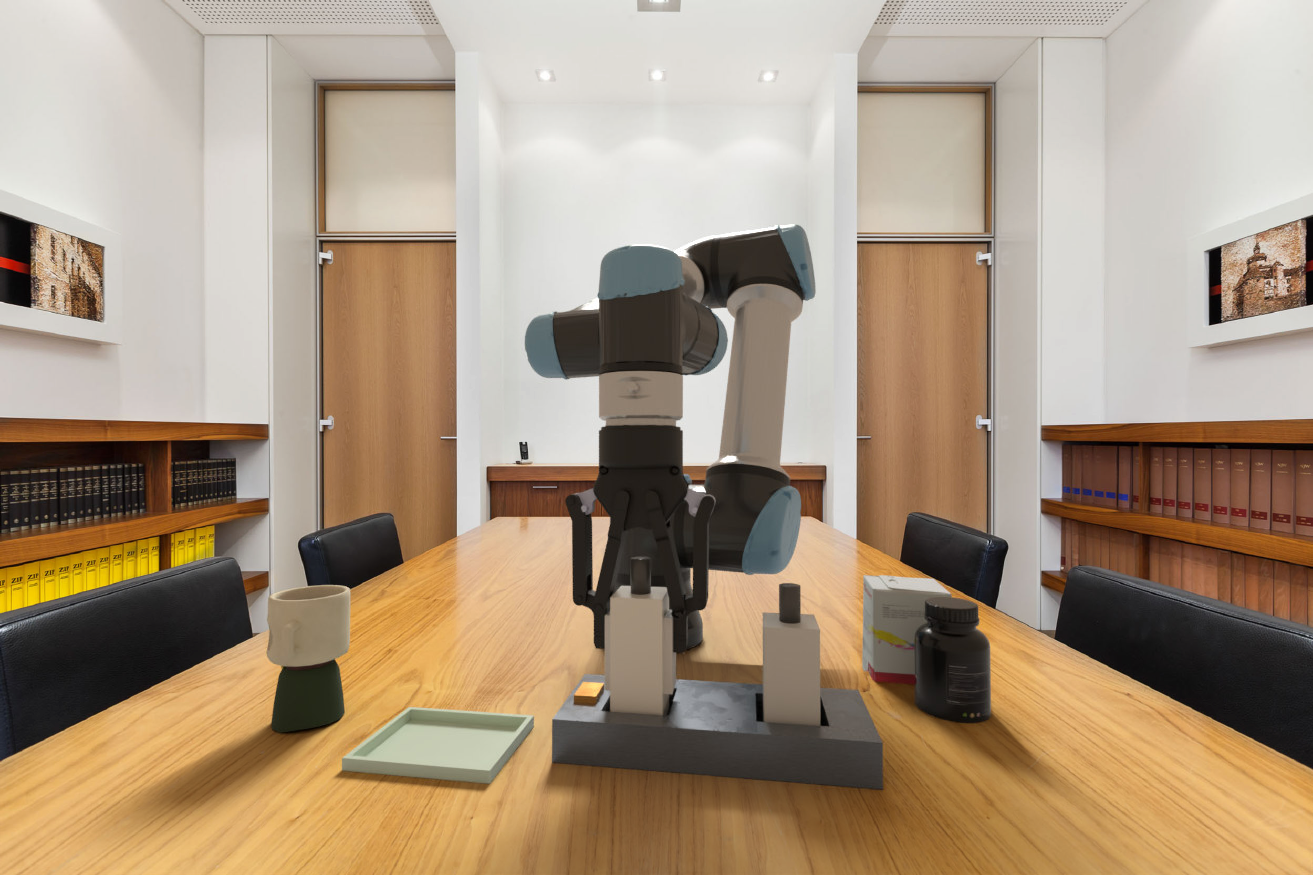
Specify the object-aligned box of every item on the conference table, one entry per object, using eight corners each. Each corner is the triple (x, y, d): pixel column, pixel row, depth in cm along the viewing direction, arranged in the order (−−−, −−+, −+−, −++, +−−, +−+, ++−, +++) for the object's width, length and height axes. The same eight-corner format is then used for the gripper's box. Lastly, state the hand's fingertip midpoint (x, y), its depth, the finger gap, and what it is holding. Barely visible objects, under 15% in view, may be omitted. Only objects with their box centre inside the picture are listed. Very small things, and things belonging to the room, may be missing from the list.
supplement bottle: (902, 709, 63) (901, 594, 63) (964, 706, 63) (963, 592, 63) (938, 741, 56) (937, 611, 56) (1007, 738, 56) (1006, 610, 57)
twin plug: (762, 735, 54) (762, 578, 54) (814, 739, 53) (813, 580, 53) (764, 761, 49) (763, 590, 49) (820, 765, 49) (819, 592, 49)
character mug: (294, 703, 64) (295, 581, 64) (364, 699, 65) (366, 579, 65) (239, 755, 53) (242, 608, 53) (326, 748, 54) (327, 604, 55)
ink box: (955, 701, 65) (954, 591, 65) (871, 695, 66) (871, 587, 67) (934, 672, 73) (934, 575, 73) (861, 667, 75) (860, 572, 75)
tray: (409, 721, 60) (409, 706, 60) (533, 731, 58) (533, 715, 58) (341, 776, 50) (342, 758, 50) (489, 789, 48) (489, 770, 48)
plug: (621, 704, 56) (621, 553, 56) (669, 707, 55) (669, 554, 55) (610, 726, 51) (610, 562, 51) (662, 730, 50) (662, 564, 51)
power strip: (584, 724, 59) (584, 667, 59) (858, 744, 55) (858, 683, 55) (552, 780, 49) (552, 711, 49) (883, 809, 45) (882, 734, 45)
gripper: (532, 422, 51) (531, 697, 51) (739, 421, 49) (740, 711, 48) (559, 426, 59) (558, 665, 58) (740, 425, 56) (741, 675, 56)
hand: (640, 685), depth 53 cm, fingers closed on plug, 4 cm apart
